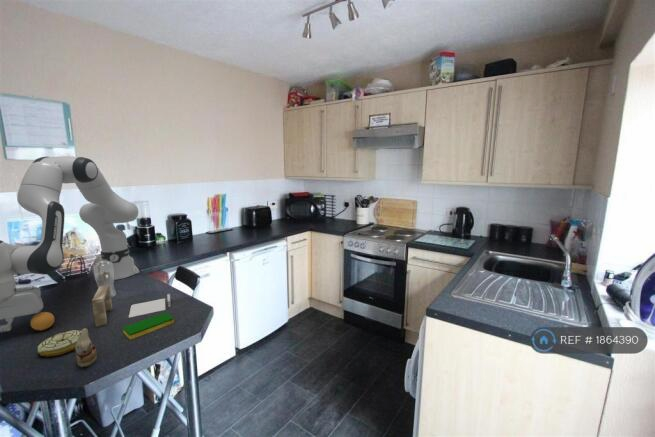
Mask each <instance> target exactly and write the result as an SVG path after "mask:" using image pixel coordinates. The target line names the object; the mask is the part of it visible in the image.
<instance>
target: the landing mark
mask: <svg viewBox="0 0 655 437" xmlns="http://www.w3.org/2000/svg"><path fill="white" fill-rule="evenodd" d="M162 311H166V298H159V299H155V300H151V301H150V300H149V301H146V302H141V303H140V302H139V303H135V304H131V306H130V310H129V314H128V318H129V319H130V318H135V317H139V316H144V315H149V314H153V313H159V312H162Z"/></svg>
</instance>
